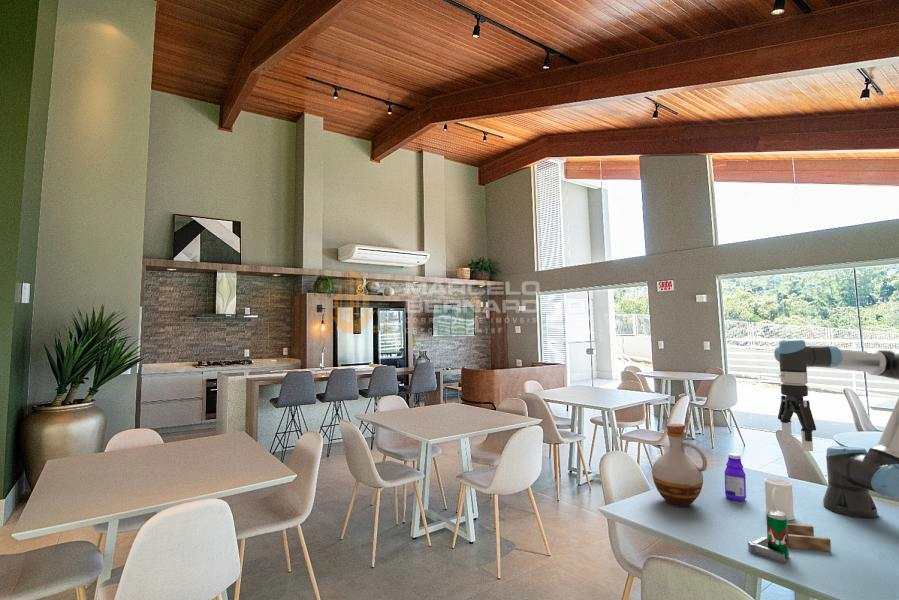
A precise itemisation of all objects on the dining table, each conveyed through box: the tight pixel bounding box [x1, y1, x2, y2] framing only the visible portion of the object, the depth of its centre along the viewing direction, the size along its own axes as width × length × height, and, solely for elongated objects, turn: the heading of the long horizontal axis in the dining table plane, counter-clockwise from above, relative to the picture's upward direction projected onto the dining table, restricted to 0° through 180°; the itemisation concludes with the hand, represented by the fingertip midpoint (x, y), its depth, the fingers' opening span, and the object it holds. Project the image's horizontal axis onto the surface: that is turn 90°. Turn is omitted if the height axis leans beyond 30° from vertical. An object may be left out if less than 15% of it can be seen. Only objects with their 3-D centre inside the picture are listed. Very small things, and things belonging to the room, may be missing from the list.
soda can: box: [765, 510, 790, 559], centre depth 135 cm, size 5×5×12 cm
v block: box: [747, 536, 786, 565], centre depth 136 cm, size 7×12×2 cm, turn 167°
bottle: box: [724, 452, 747, 502], centre depth 181 cm, size 7×6×17 cm
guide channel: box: [787, 522, 832, 552], centre depth 143 cm, size 12×10×4 cm
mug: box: [764, 477, 795, 521], centre depth 163 cm, size 12×8×12 cm
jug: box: [651, 423, 708, 508], centre depth 176 cm, size 20×18×30 cm
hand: (797, 446), depth 157 cm, fingers open, 13 cm apart
